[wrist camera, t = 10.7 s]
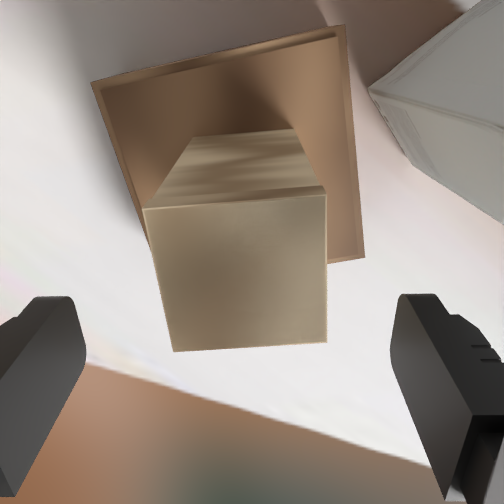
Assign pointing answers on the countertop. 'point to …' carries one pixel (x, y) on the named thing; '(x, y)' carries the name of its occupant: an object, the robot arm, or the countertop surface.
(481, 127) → the skincare box
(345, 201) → the walnut box
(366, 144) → the countertop surface
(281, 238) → the oak block
